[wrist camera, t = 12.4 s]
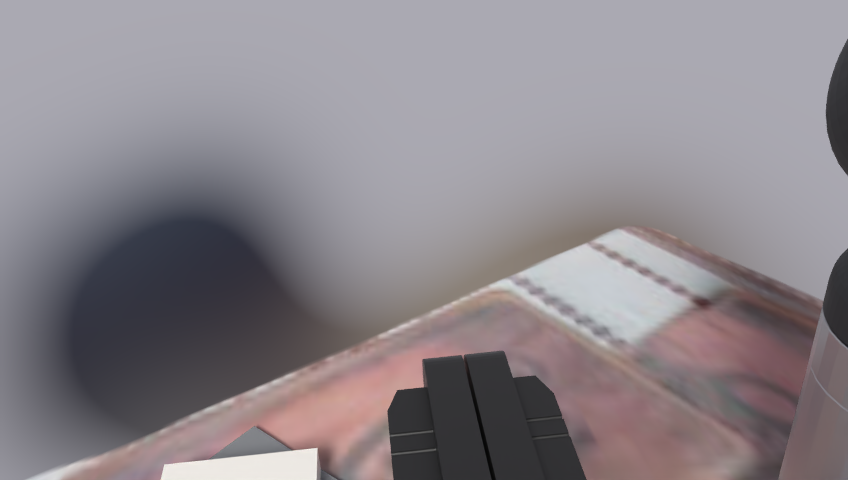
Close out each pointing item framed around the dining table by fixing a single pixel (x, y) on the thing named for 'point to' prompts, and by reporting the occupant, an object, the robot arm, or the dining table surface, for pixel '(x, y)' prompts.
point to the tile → (250, 467)
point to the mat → (257, 447)
